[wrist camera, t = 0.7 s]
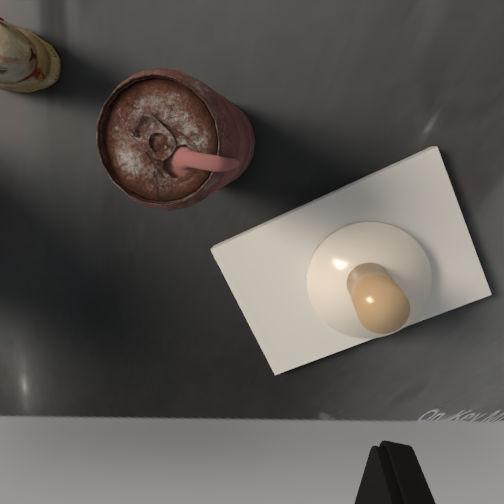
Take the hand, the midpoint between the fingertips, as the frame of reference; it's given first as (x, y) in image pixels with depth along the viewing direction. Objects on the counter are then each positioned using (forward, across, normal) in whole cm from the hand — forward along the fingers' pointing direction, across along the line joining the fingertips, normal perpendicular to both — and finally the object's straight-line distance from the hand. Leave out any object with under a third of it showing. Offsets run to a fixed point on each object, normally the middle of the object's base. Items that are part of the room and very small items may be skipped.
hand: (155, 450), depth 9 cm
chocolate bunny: (+24, +20, -10) cm, 33 cm away
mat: (+24, -8, +2) cm, 25 cm away
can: (+24, +4, -6) cm, 25 cm away
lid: (+23, -9, +2) cm, 25 cm away
